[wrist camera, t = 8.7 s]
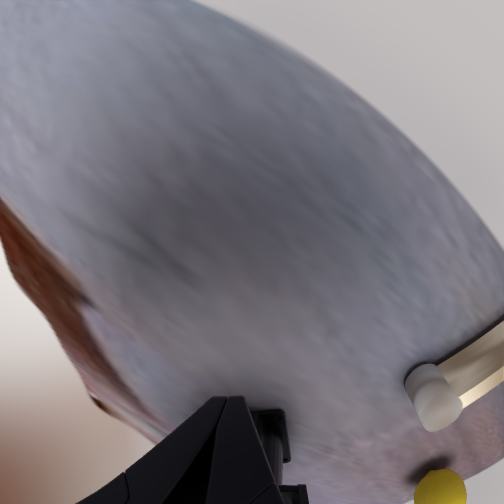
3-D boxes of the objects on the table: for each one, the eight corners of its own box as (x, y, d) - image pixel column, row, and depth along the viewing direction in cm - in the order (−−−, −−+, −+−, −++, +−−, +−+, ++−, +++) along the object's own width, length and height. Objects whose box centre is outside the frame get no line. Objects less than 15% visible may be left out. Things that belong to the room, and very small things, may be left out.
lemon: (459, 460, 22) (483, 509, 14) (422, 488, 23) (438, 538, 16) (438, 450, 22) (463, 506, 14) (397, 480, 23) (413, 537, 15)
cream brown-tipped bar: (409, 400, 20) (427, 437, 16) (400, 376, 19) (420, 413, 15) (513, 332, 18) (542, 356, 14) (511, 304, 17) (543, 326, 13)
